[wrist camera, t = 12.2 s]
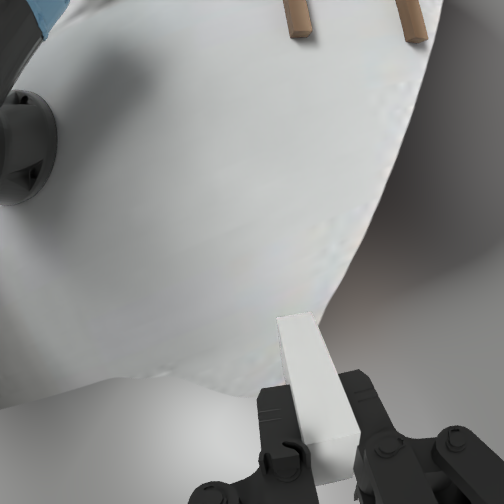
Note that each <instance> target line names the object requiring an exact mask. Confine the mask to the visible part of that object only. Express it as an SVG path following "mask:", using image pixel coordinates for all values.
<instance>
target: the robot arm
mask: <svg viewBox="0 0 504 504" xmlns="http://www.w3.org/2000/svg"><path fill="white" fill-rule="evenodd" d="M69 2H70V0H0V205H2V206H9V205H15V204H18V203H20V202H23V201H25V200H28V199H29V198H31V197H33V196H34V195H35V194H36V193H37V192H38V191H39V190H40V189H41V188H42V187H43V185H44V184H45V182H46V181H47V179H48V177H49V175H50V172H51V170H52V167H53V164H54V160H55V156H56V148H57V132H56V125H55V120H54V117H53V114H52V112H51V110H50V108H49V106H48V105H47V103H46V102H45V101H44V100H43V99H42V98H41V97H40V96H38V95H37V94H35V93H33V92H29V91H23V90H11V89H12V87H13V85H14V84H15V82H16V81H17V79H18V77H19V76H20V74H21V73H22V71H23V69H24V68H25V66H26V65H27V63H28V62H29V60H30V59H31V57H32V56H33V55H34V53H35V52H36V50H37V49H38V47H39V46H40V45H41V43H42V42H43V41H45V40H46V39H47V37H48V33H49V31H50V30H51V29H52V27H53V26H54V24H55V23H56V22H57V20H58V19H59V18H60V16H61V15H62V14H63V12H64V11H65V10H66V8H67V7H68V5H69ZM276 319H277V326H278V334H279V343H280V351H281V359H282V367H283V372H284V376H285V381H286V385H282V386H276V387H270V388H263V389H261V391H260V393H259V396H258V398H257V408H258V419H259V430H260V440H261V452H260V454H259V460H258V462H259V465H260V466H259V468H258V469H257V471H256V472H255V473H253V474H252V475H251V476H249V477H247V478H245V479H244V480H240V481H238V482H235V483H232V484H227V483H224V482H220V481H213V482H212V481H211V482H208V483H204V484H202V485H200V486H199V487H197V488H196V489H195V490H194V492H193V493H192V495H191V496H190V499H189V502H188V504H319V501H318V496H317V492H316V488H315V486H319V485H324V484H328V483H333V482H337V481H341V480H345V479H349V478H352V477H353V473H355V476H356V480H357V485H356V490H355V493H354V501H355V500H358V498H359V502H360V504H504V461H503V460H502V459H501V458H500V457H499V456H498V455H497V454H495V453H494V452H493V451H492V450H491V449H490V448H489V447H488V446H487V445H486V444H485V443H484V442H482V441H481V440H480V439H479V438H478V437H477V436H476V435H475V434H474V433H473V432H472V431H470V430H469V429H467V428H465V427H462V426H458V425H457V426H450V427H447V428H445V429H443V430H442V431H441V432H440V433H439V434H438V436H437V437H435V438H425V439H412V438H408V437H405V436H404V435H402V434H400V433H399V432H397V431H396V429H395V428H394V426H393V424H392V422H391V420H390V418H389V416H388V414H387V412H386V410H385V408H384V406H383V404H382V402H381V400H380V398H379V397H378V394H377V392H376V390H375V389H374V386H373V384H372V382H371V380H370V378H369V377H368V376H367V375H366V374H364V373H363V372H362V371H360V370H359V369H358V370H354V371H350V372H345V373H341V374H337V371H336V369H335V366H334V364H333V362H332V359H331V357H330V354H329V352H328V349H327V347H326V345H325V342H324V340H323V337H322V335H321V333H320V330H319V328H318V325H317V323H316V321H315V318H314V316H313V314H312V311H311V312H305V313H300V314H294V315H288V316H282V317H276Z"/></svg>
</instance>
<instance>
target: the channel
mask: <svg viewBox="0 0 504 504" xmlns="http://www.w3.org/2000/svg"><path fill="white" fill-rule="evenodd" d="M395 1H396V4H397V8H398V12H399V16H400V19H401V23H402V28H403V32H404V36H405V41H406V42H412V43H420V42H423V41H425V40H428V36H427V31H426V27H425V23H424V19H423V16H422V12H421V8H420V5H419V1H418V0H395ZM283 4H284V8H285V13H286V18H287V23H288V29H289V34H290V38H299V37H308V36H309V35H310V33H311V32H312V26H311V21H310V16H309V12H308V7H307V3H306V0H283Z"/></svg>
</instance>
